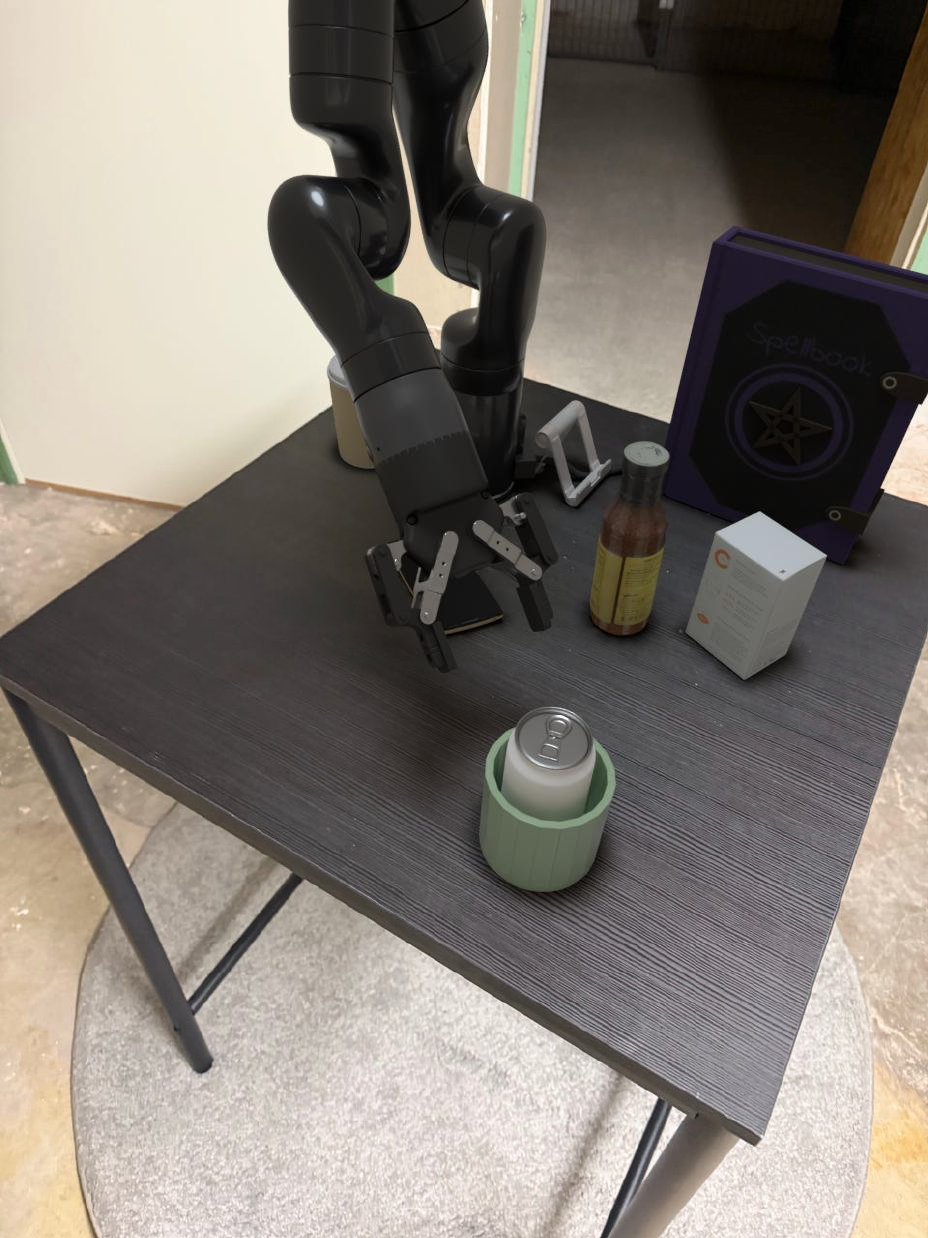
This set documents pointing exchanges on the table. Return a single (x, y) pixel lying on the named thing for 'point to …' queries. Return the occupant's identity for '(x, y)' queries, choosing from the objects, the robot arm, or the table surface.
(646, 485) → the sauce bottle
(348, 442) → the coffee cup
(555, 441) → the tablet stand
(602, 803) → the holder
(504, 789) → the can
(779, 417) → the book
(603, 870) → the table surface
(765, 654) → the small box
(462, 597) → the smartphone
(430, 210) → the robot arm
